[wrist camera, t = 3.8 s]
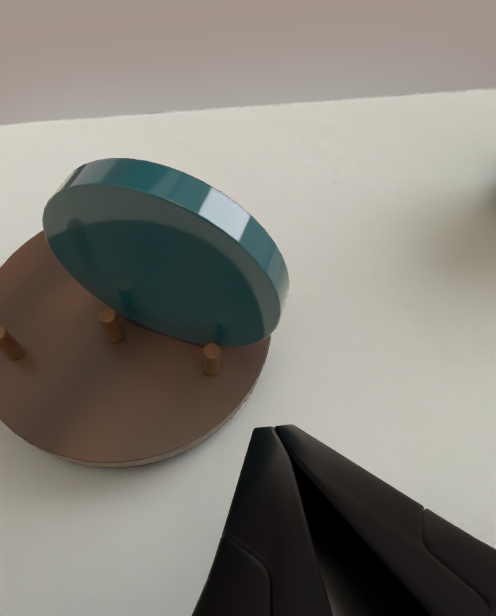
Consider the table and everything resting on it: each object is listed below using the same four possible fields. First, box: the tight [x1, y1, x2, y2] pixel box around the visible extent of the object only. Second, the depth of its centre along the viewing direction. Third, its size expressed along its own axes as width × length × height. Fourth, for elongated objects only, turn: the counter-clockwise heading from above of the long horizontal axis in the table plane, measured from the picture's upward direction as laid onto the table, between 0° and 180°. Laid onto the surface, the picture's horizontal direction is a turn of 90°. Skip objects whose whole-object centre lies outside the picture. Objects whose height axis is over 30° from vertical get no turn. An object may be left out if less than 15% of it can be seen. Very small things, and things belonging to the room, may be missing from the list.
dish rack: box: [0, 158, 289, 467], centre depth 16 cm, size 14×14×10 cm
